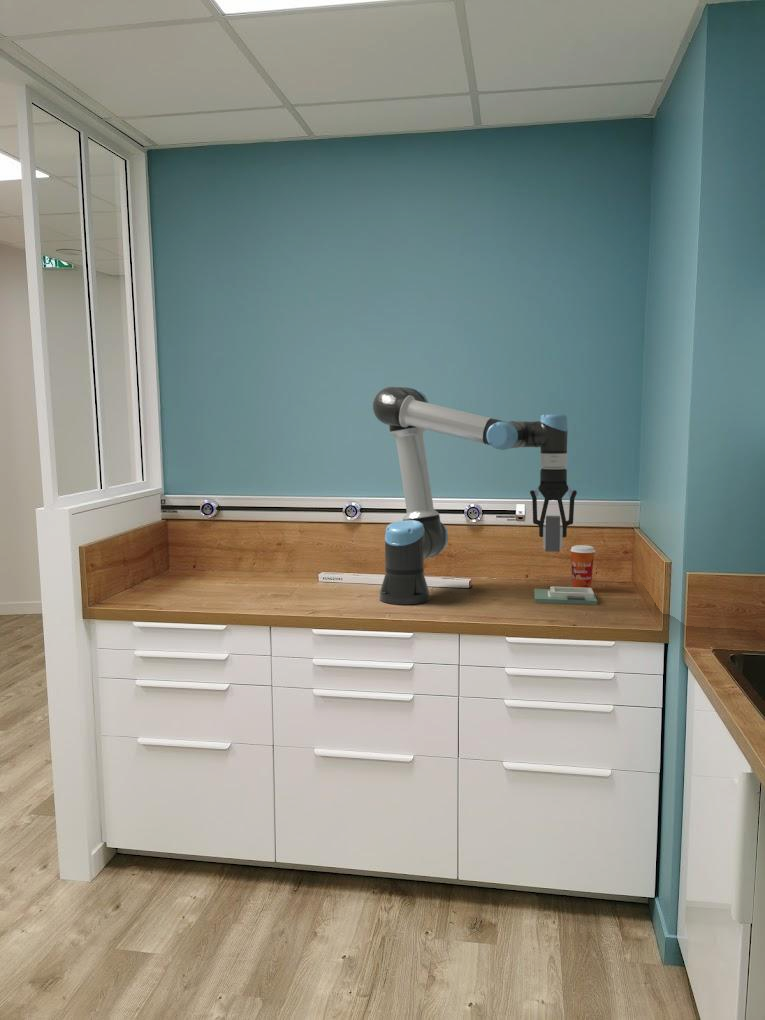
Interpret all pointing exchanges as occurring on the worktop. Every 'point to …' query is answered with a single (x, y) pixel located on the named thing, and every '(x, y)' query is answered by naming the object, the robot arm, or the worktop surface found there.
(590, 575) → the paper cup
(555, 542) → the plug
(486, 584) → the worktop surface
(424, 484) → the robot arm
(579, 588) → the board
